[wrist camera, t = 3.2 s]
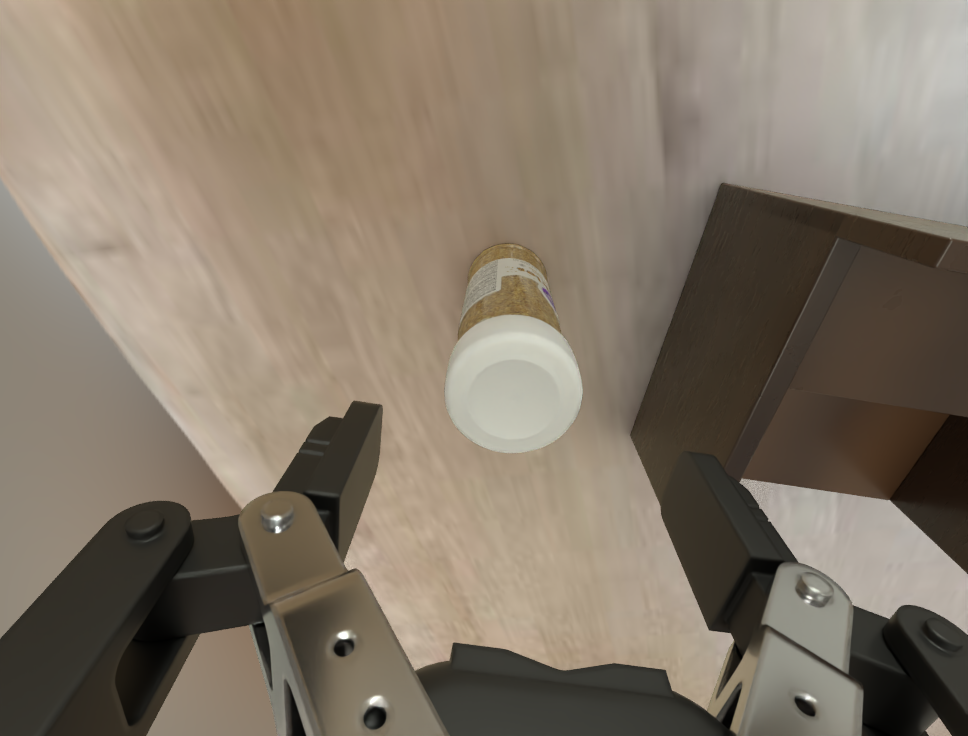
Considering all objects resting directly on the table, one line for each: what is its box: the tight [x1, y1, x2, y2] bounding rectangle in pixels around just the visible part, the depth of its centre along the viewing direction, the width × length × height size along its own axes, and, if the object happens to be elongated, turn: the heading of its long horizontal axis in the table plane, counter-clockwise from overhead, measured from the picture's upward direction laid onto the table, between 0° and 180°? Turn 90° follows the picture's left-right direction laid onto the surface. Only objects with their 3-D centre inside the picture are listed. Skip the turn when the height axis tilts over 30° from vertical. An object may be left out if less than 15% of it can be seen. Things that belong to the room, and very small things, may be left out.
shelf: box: [630, 183, 968, 574], centre depth 22 cm, size 17×16×14 cm
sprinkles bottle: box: [444, 244, 583, 453], centre depth 21 cm, size 5×5×13 cm
